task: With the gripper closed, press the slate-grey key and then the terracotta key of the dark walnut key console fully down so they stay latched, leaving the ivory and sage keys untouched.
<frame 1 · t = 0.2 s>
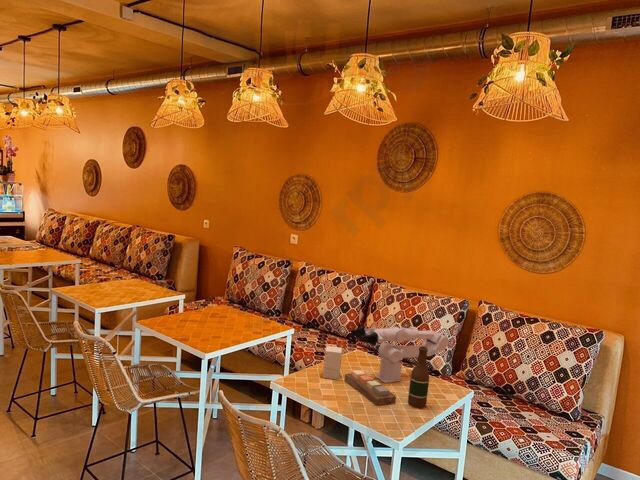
hand: (355, 336, 210), 21 cm above the table, tool horizontal, fingers open, 7 cm apart
key ivory: (358, 374, 213), point 4 cm above the table, slide at 0.0 cm
key sage: (373, 385, 203), point 4 cm above the table, slide at 0.0 cm
beer bottle: (416, 404, 197), on the table
supplement box: (331, 376, 219), on the table
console: (368, 391, 206), on the table
key terracotta: (365, 380, 208), point 4 cm above the table, slide at 0.0 cm
key slate: (381, 391, 197), point 4 cm above the table, slide at 0.0 cm
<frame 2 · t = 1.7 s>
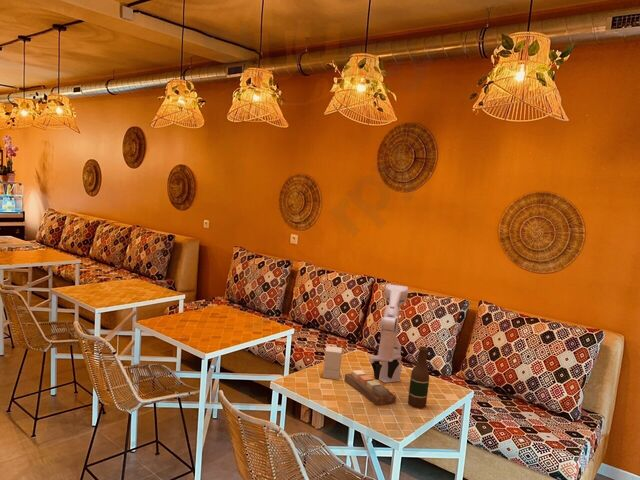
hand: (383, 378, 197), 9 cm above the table, tool pointing down, fingers open, 6 cm apart
nothing on the table moved.
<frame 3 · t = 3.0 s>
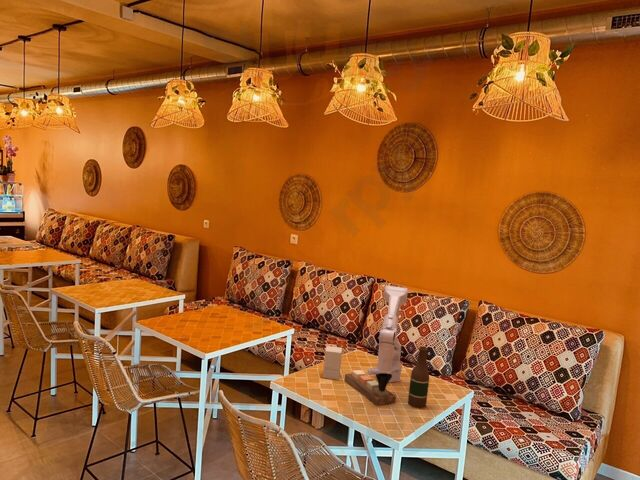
hand: (381, 390, 197), 4 cm above the table, tool pointing down, fingers closed, pressing on key slate
key slate: (381, 393, 197), point 3 cm above the table, slide at 0.7 cm, touching gripper
everything else where it was.
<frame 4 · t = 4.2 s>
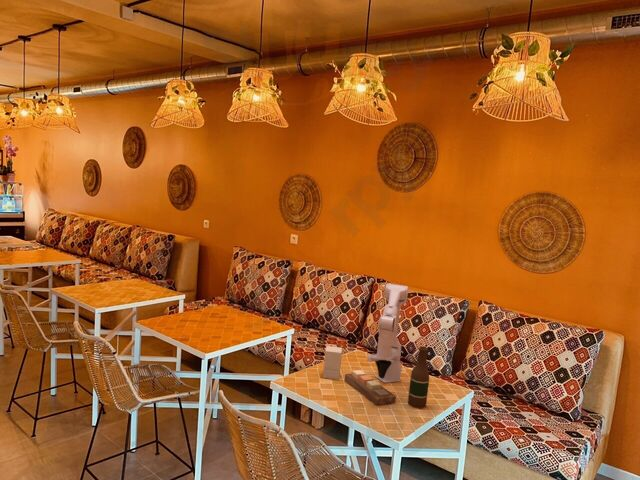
hand: (381, 377, 198), 9 cm above the table, tool pointing down, fingers closed
key slate: (381, 394, 198), point 2 cm above the table, slide at 1.3 cm
everything else where it was.
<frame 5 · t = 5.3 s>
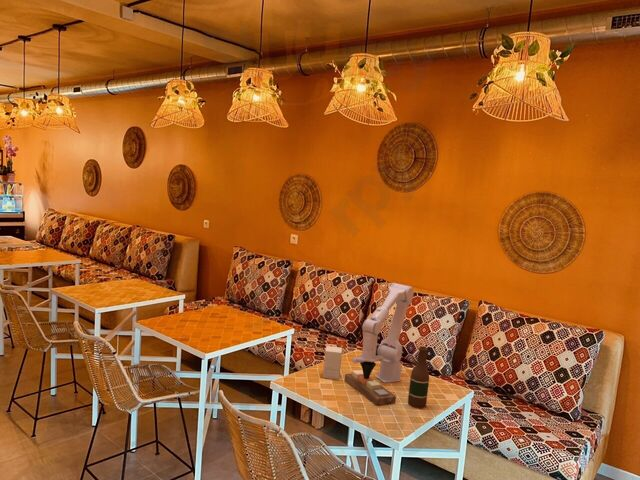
hand: (366, 378, 208), 5 cm above the table, tool pointing down, fingers closed, pressing on key terracotta
key terracotta: (365, 380, 208), point 4 cm above the table, slide at 0.2 cm, touching gripper
everything else where it was.
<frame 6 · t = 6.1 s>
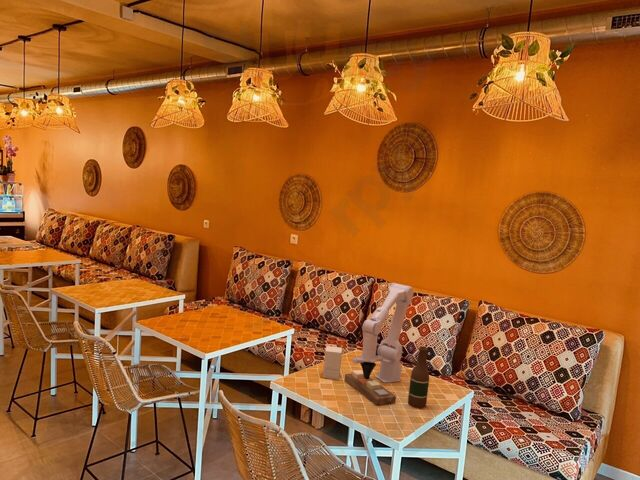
hand: (366, 378, 208), 5 cm above the table, tool pointing down, fingers closed
key terracotta: (365, 383, 208), point 2 cm above the table, slide at 1.3 cm
everything else where it was.
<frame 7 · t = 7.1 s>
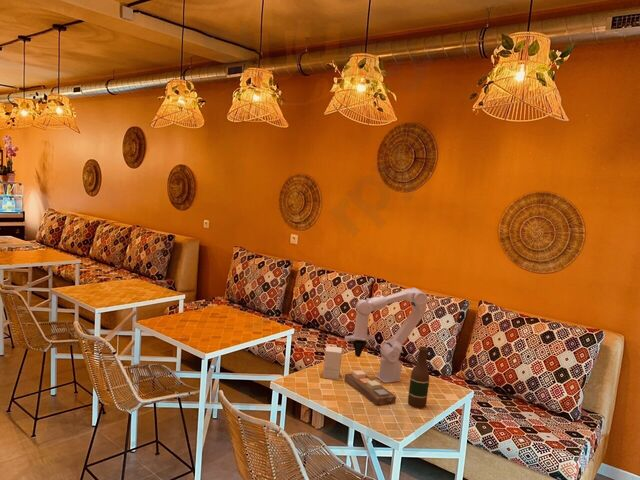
hand: (357, 356, 218), 10 cm above the table, tool pointing down, fingers closed
nothing on the table moved.
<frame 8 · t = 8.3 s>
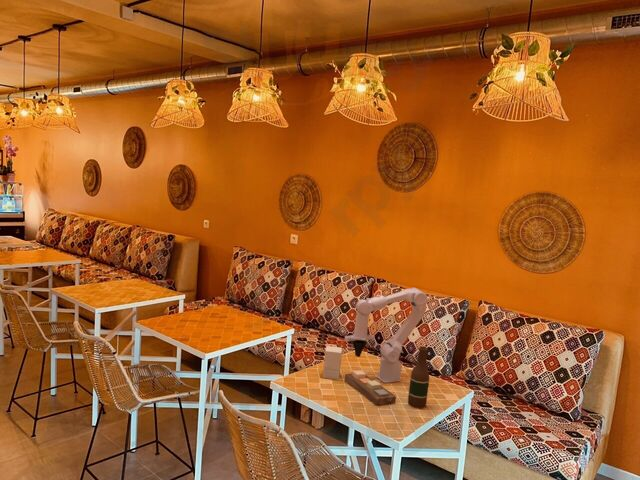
hand: (357, 356, 218), 10 cm above the table, tool pointing down, fingers closed
nothing on the table moved.
at the end: key slate slide at 1.3 cm; key terracotta slide at 1.3 cm; key ivory slide at 0.0 cm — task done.
